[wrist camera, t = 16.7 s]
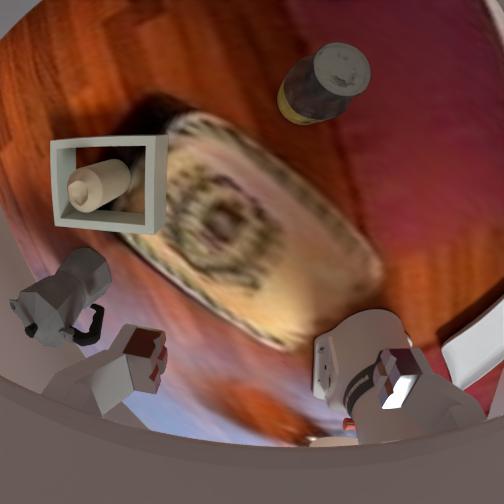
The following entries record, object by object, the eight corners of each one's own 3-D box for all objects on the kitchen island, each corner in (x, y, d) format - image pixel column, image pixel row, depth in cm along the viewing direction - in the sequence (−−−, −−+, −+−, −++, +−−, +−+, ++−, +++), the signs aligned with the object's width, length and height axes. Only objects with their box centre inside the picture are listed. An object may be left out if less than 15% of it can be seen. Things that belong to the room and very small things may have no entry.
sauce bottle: (298, 134, 36) (331, 139, 18) (266, 98, 34) (267, 65, 16) (336, 105, 34) (402, 86, 16) (305, 68, 33) (342, 15, 14)
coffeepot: (60, 282, 46) (2, 339, 30) (59, 235, 43) (-11, 285, 26) (132, 310, 48) (87, 385, 31) (138, 262, 44) (81, 332, 28)
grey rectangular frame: (165, 223, 41) (154, 235, 37) (72, 215, 41) (55, 225, 37) (168, 134, 37) (155, 135, 32) (69, 137, 37) (50, 140, 32)
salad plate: (515, 336, 49) (522, 344, 46) (451, 386, 55) (456, 396, 51) (510, 276, 43) (519, 284, 40) (433, 337, 48) (440, 348, 45)
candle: (93, 180, 39) (53, 197, 30) (111, 151, 37) (72, 160, 28) (118, 203, 41) (83, 225, 31) (138, 174, 39) (104, 189, 30)
